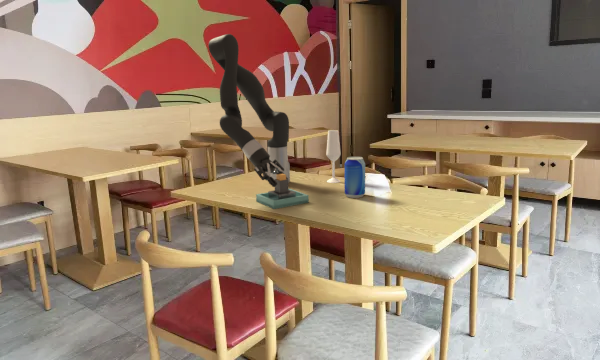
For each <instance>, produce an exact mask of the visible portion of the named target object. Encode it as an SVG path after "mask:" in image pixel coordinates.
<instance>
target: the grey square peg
mask: <svg viewBox="0 0 600 360" xmlns="http://www.w3.org/2000/svg"><path fill="white" fill-rule="evenodd" d="M274 180H275V181H276V182H277V185H276V186H275V187H274V190H275V193H278V194H284V193H289V189H290V188H289V182H288V179H286V175H285V174H277V175H276V179H274Z"/></svg>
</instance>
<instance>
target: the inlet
mask: <svg viewBox="0 0 600 360" xmlns="http://www.w3.org/2000/svg"><path fill="white" fill-rule="evenodd" d="M268 195H269V198H270V199H272V200H280V199H286V198H291V197H296V192H294V191H291V190H289V193H284V194H278V193H275V189H274V190H269V191H268Z"/></svg>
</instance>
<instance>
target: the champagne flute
mask: <svg viewBox="0 0 600 360" xmlns="http://www.w3.org/2000/svg"><path fill="white" fill-rule="evenodd" d="M339 134H340V133H339V130H337V129H336V130H335V129H329V130H327V140H326V152H325V154H326V155H325V156H326V157H327V158H328V159H329V160H330V161H331V163H332V164H331V165H332V167H331V170H332V172H331V173H332V175H331V176H332V177H331V178H329V179H328V180H326V182H327V183H331V184H335V183H336V184H337V183H341V180H340V179H338V178H337V177H336V167H335V166H336V165H335V164H336V161H337V160H338V159H339V158H340V157H341V145H340V143H341V142H340V135H339Z"/></svg>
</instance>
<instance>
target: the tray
mask: <svg viewBox="0 0 600 360" xmlns="http://www.w3.org/2000/svg"><path fill="white" fill-rule="evenodd" d="M289 190H291V191H294V192H296V197H291V198H286V199H280V200H272V199H270V198H269V195H268V192H262V193H256V194H255V197H256V198H255V200H256V203H259V204H261V205H264V206H265V207H268V208H271V209H272V210H276V209H280V208H281V209H282V208H288V207H291V206H298V205H302V204H308V203H309V202H310V201H309V200H310V199H309V194H306V193H304V192H300V191H297V190H294V189H291V188H289Z"/></svg>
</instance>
